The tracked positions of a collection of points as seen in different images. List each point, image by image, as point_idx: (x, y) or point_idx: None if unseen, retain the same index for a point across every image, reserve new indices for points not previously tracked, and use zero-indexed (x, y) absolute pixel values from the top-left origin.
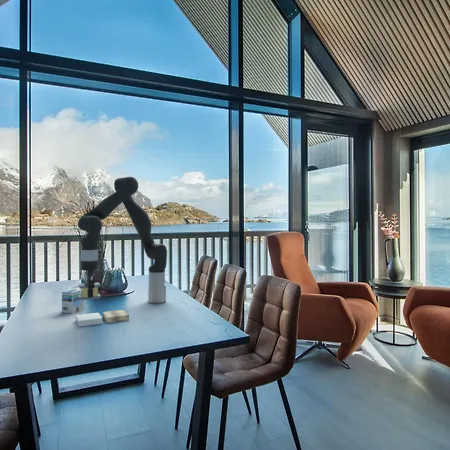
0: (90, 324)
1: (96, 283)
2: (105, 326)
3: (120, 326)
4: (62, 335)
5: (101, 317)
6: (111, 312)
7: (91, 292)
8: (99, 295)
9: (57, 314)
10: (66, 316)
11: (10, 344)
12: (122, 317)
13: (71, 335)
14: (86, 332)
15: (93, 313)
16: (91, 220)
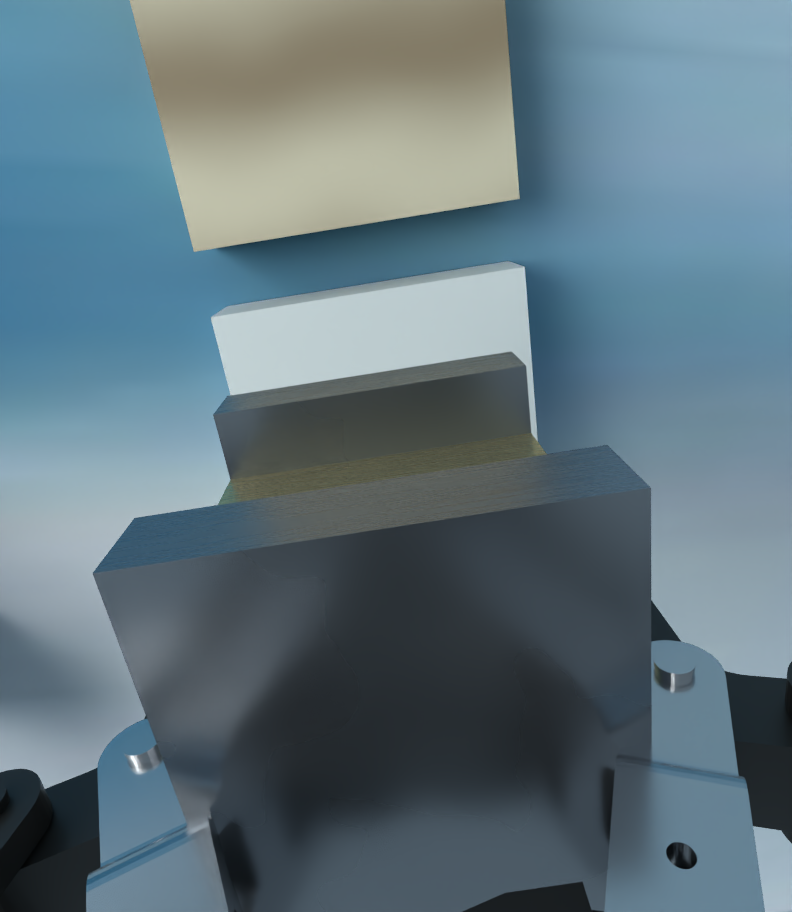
0: None
1: (363, 647)
2: (645, 225)
3: (736, 12)
4: (745, 627)
5: (490, 280)
6: (243, 109)
7: (653, 627)
8: (492, 391)
9: (2, 731)
10: (97, 649)
11: (769, 892)
12: None
13: (786, 559)
14: (766, 434)
15: (246, 388)
16: None
